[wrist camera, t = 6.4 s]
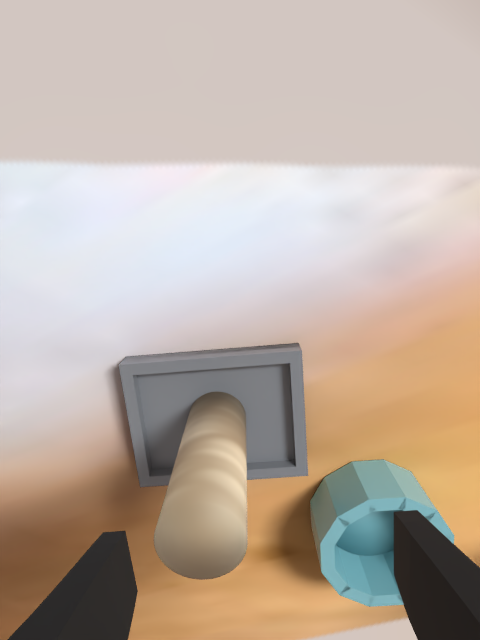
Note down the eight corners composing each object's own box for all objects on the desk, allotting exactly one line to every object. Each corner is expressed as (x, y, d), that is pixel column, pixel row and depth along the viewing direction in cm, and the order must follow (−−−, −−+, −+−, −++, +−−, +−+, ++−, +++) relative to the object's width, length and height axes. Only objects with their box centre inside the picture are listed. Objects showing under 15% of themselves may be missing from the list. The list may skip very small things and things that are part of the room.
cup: (427, 456, 21) (456, 493, 18) (423, 553, 23) (450, 602, 20) (308, 464, 21) (318, 503, 18) (312, 559, 23) (323, 609, 20)
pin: (242, 388, 19) (241, 497, 12) (248, 440, 20) (251, 575, 12) (185, 394, 19) (146, 506, 12) (193, 445, 20) (162, 582, 12)
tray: (298, 343, 19) (301, 350, 18) (304, 461, 21) (307, 475, 20) (126, 356, 20) (118, 364, 18) (145, 472, 21) (140, 487, 20)
